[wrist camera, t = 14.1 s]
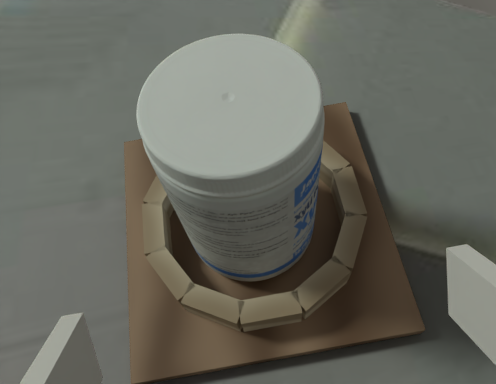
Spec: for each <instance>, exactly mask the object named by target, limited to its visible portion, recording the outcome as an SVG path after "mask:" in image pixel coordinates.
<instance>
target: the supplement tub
mask: <svg viewBox="0 0 496 384" xmlns="http://www.w3.org/2000/svg"><path fill="white" fill-rule="evenodd" d="M324 120H325V118H324V107H323V92H322V87H321V83H320V81H319V78H318V76H317V74H316V72H315V70H314V69H313V67H312V66H311V65H310V64H309V62H308V61H307V60H306V59H305V58H304V57H303V56H302V55H301V54H299V53H298V52H297V51H295V50H294V49H292V48H291V47H289V46H287V45H285V44H283V43H281V42H279V41H276V40H273V39H270V38H267V37H263V36H258V35H251V34H225V35H218V36H213V37H208V38H205V39H201V40H198V41H196V42H193V43H191V44H188V45H186V46H184V47H182V48H181V49H179V50H177V51H175V52H174V53H172V54H171V55H170V56H168V57H167V58H166V59H165V60H163V61H162V62H161V63H160V64H159V65H158V66H157V67H156V68H155V69H154V70H153V72H152V73H151V74H150V76H149V77H148V78H147V80H146V82H145V84H144V86H143V87H142V90H141V93H140V96H139V99H138V103H137V124H138V129H139V132H140V135H141V137H142V141H143V145H144V148H145V151H146V154H147V156H148V158H149V160H150V162H151V164H152V166H153V168H154V170H155V172H156V174H157V176H158V178H159V180H160V182H161V184H162V186H163V188H164V190H165V192H166V194H167V196H168V198H169V200H170V202H171V204H172V206H173V208H174V210H175V211H176V213H177V215H178V217H179V219H180V221H181V223H182V225H183V227H184V229H185V231H186V233H187V235H188V237H189V239H190V241H191V243H192V245H193V247H194V249H195V250H196V252H197V254H198V255H199V257H200V258H201V259H202V261H203V262H204V263H205V264H206V265H207V266H209V267H210V268H211V269H212V270H214V271H215V272H217V273H219V274H220V275H222V276H225V277H227V278H230V279H234V280H239V281H249V282H252V281H261V280H266V279H269V278H272V277H275V276H277V275H279V274H281V273H283V272H285V271H287V270H288V269H289V268H291V267H292V266H293V265H294V264H295V263H296V262H298V260H299V259H300V258H301V257H302V255H303V254H304V253H305V251H306V249H307V248H308V245H309V243H310V241H311V238H312V234H313V229H314V221H315V212H316V203H317V194H318V184H319V175H320V166H321V156H322V147H323V135H324Z"/></svg>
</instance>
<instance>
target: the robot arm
mask: <svg viewBox="0 0 496 384" xmlns="http://www.w3.org/2000/svg"><path fill="white" fill-rule="evenodd" d="M446 257H447V286H448V314H449V316H450V317H451V318H452V319H453V320H454V321H455V322H456V323H457V324H458V325H459V326H460V327H461V328H462V330H463V331H464V332H465V333H466V334H467V335H468V336H469V337H470V338H471V339H472V340H473V341H474V342H475V344H476V345H477V346H478V347H479V348H480V349H481V350H482V351H483V352H484V353H485V354H486V355H487V356H488V358H489V359H490V360H491V361H492V362H493V363H494V364H495V365H496V264H494V263H493V262H491V261H490V260H489V259H487V258H486V257H484V256H483V255H482V254H480V253H479V252H477V251H476V250H475V249H473V248H472V247H470V246H469V245H468V244H465V245H459V246H454V247H448V248H446ZM102 378H103V376H102V373H101V370H100V366H99V363H98V360H97V356H96V353H95V350H94V347H93V343H92V340H91V337H90V334H89V330H88V327H87V324H86V320H85V317H84V314H83V313H77V314H72V315H66V316H61V318H60V320H59V321H58V323H57V324H56V326H55V328H54V329H53V331H52V332H51V334H50V336H49V337H48V339H47V340H46V342H45V344H44V345H43V347H42V349H41V350H40V352H39V353H38V355H37V357H36V358H35V360H34V361H33V363H32V365H31V366H30V368H29V369H28V371H27V373H26V374H25V376H24V377H23V379H22V381H21V382H20V384H100V383H101V381H102Z"/></svg>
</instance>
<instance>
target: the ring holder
mask: <svg viewBox="0 0 496 384" xmlns="http://www.w3.org/2000/svg"><path fill="white" fill-rule="evenodd" d="M323 107H324V118H325V120H324V135H323V147H322V156H321V166H320V175H319V184H318V194H317V203H316V212H315V221H314V229H313V234H312V238H311V241H310V243H309V245H308V248H307V249H306V251H305V253H304V254H303V255H302V257H301V258H300V259H299V260H298V262H296V263H295V264H294V265H293V266H292V267H291V268H289V269H288V270H287V271H285V272H283V273H281V274H279V275H277V276H275V277H272V278H269V279H266V280H261V281H252V282H249V281H239V280H234V279H230V278H227V277H225V276H222V275H220V274H219V273H217V272H215V271H214V270H212V269H211V268H210V267H209V266H207V265H206V264H205V263H204V262H203V261H202V259H201V258H200V257H199V255H198V254H197V252H196V250H195V249H194V247H193V245H192V243H191V241H190V239H189V237H188V235H187V233H186V231H185V229H184V227H183V225H182V223H181V221H180V219H179V217H178V215H177V213H176V211H175V210H174V208H173V206H172V204H171V202H170V200H169V198H168V196H167V194H166V192H165V190H164V188H163V186H162V184H161V182H160V180H159V178H158V176H157V174H156V172H155V170H154V168H153V166H152V164H151V162H150V160H149V158H148V156H147V154H146V151H145V148H144V145H143V141H142V139H139V140H134V141H128V142H124V157H125V192H126V228H127V263H128V299H129V334H130V370H131V384H149V383H154V382H159V381H165V380H170V379H176V378H181V377H187V376H192V375H198V374H203V373H208V372H214V371H219V370H225V369H230V368H236V367H241V366H246V365H252V364H257V363H263V362H268V361H274V360H279V359H284V358H290V357H295V356H301V355H306V354H312V353H317V352H323V351H328V350H333V349H339V348H344V347H350V346H355V345H361V344H366V343H371V342H377V341H382V340H388V339H393V338H399V337H404V336H409V335H415V334H420V333H422V332H423V331H425V327H424V324H423V321H422V318H421V315H420V312H419V310H418V307H417V304H416V301H415V298H414V295H413V292H412V290H411V287H410V284H409V281H408V278H407V275H406V272H405V270H404V267H403V264H402V261H401V258H400V255H399V252H398V250H397V247H396V244H395V241H394V238H393V235H392V232H391V230H390V227H389V224H388V221H387V218H386V215H385V212H384V210H383V207H382V204H381V201H380V198H379V195H378V193H377V190H376V187H375V184H374V181H373V178H372V175H371V173H370V170H369V167H368V164H367V161H366V158H365V155H364V153H363V150H362V147H361V144H360V141H359V138H358V135H357V133H356V130H355V127H354V124H353V121H352V118H351V115H350V113H349V110H348V107H347V104H346V102H344V103H338V104H333V105H327V106H323Z"/></svg>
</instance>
